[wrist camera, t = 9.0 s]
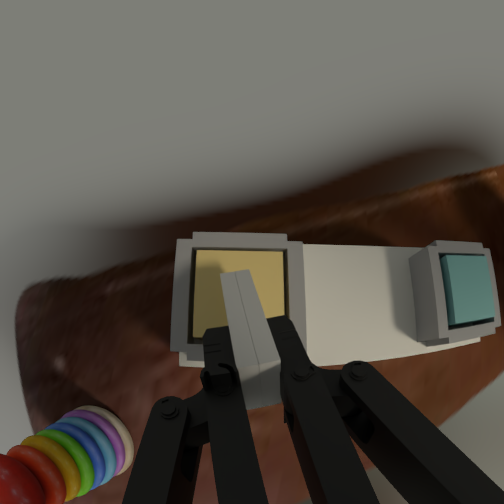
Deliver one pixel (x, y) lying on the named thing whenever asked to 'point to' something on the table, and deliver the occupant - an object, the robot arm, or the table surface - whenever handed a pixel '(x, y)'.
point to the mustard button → (217, 261)
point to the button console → (343, 297)
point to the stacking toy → (66, 458)
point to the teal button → (467, 289)
